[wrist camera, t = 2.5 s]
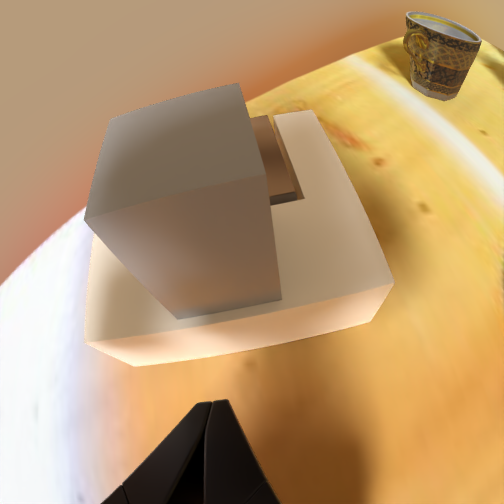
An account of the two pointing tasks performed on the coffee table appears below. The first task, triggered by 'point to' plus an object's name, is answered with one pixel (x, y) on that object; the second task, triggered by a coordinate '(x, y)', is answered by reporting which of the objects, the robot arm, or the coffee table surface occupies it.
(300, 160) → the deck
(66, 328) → the coffee table surface
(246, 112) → the stone
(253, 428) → the coffee table surface
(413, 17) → the ceramic cup
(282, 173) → the trapdoor
